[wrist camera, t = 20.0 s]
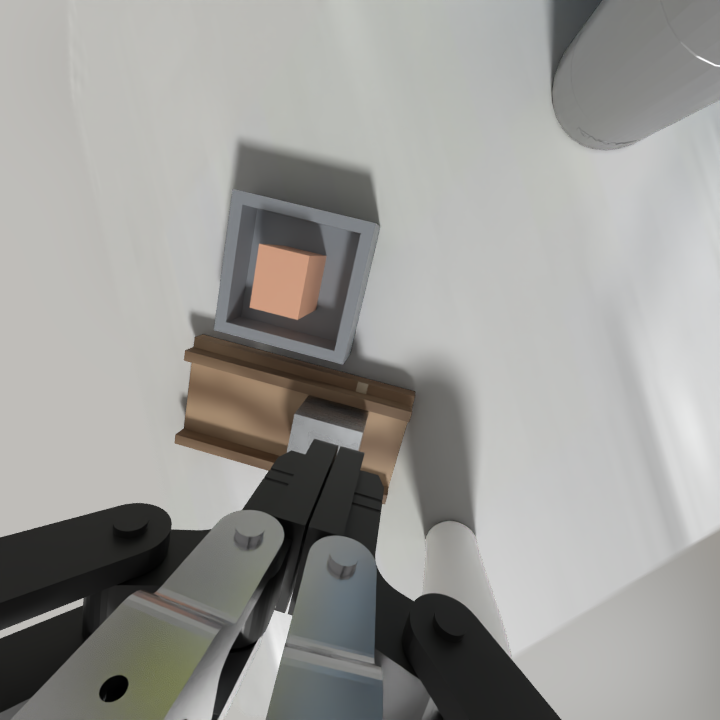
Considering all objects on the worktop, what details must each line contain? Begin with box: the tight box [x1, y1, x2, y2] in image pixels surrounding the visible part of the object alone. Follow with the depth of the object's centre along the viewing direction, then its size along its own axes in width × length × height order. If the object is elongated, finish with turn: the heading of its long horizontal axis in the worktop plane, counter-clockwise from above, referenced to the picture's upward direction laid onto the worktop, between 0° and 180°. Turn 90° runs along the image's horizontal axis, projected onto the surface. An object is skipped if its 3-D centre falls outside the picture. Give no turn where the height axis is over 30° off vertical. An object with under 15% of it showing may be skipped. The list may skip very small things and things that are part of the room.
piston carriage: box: [287, 395, 369, 454], centre depth 37 cm, size 7×6×5 cm
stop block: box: [250, 244, 327, 320], centre depth 34 cm, size 5×4×6 cm
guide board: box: [175, 334, 415, 504], centre depth 40 cm, size 12×22×3 cm, turn 77°
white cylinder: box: [422, 521, 512, 659], centre depth 35 cm, size 7×7×15 cm
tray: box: [214, 189, 380, 365], centre depth 35 cm, size 12×12×4 cm
